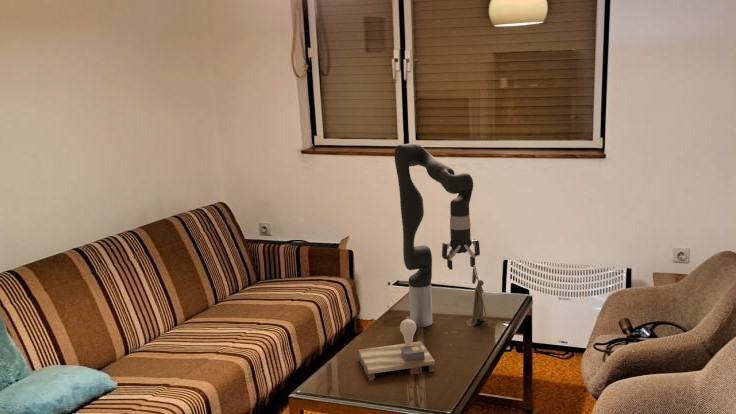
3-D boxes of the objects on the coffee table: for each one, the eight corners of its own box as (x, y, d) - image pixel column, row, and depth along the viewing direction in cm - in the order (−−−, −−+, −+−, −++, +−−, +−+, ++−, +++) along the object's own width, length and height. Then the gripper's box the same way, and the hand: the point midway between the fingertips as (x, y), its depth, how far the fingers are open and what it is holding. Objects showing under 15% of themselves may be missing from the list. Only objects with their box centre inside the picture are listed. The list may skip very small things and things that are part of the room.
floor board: (359, 359, 266) (358, 349, 266) (421, 351, 271) (420, 341, 270) (369, 380, 249) (368, 370, 248) (435, 371, 254) (434, 360, 253)
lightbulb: (419, 345, 267) (418, 317, 265) (414, 351, 261) (413, 323, 259) (403, 343, 269) (402, 316, 267) (398, 350, 263) (397, 321, 261)
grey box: (401, 355, 259) (401, 347, 258) (419, 352, 260) (419, 344, 259) (405, 361, 253) (405, 353, 252) (424, 359, 254) (424, 351, 254)
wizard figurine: (484, 328, 290) (484, 269, 284) (464, 326, 293) (463, 267, 287) (490, 319, 299) (489, 262, 294) (470, 317, 302) (469, 260, 297)
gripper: (474, 222, 272) (475, 263, 276) (439, 226, 270) (440, 267, 273) (481, 226, 265) (482, 268, 269) (445, 230, 262) (446, 272, 266)
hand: (461, 267), depth 271 cm, fingers open, 8 cm apart
